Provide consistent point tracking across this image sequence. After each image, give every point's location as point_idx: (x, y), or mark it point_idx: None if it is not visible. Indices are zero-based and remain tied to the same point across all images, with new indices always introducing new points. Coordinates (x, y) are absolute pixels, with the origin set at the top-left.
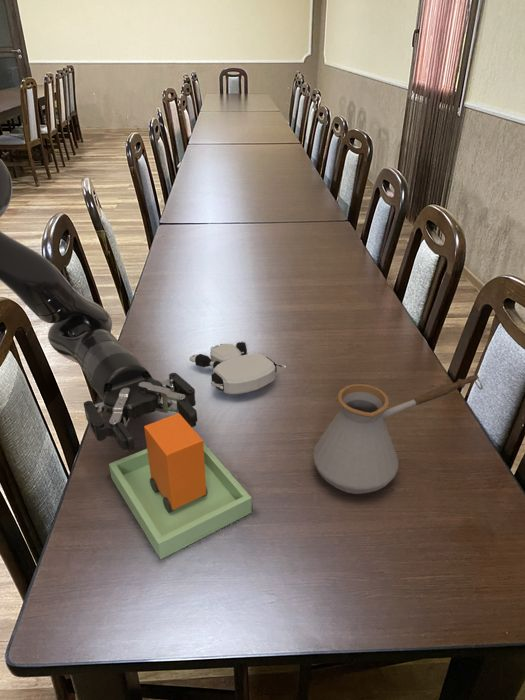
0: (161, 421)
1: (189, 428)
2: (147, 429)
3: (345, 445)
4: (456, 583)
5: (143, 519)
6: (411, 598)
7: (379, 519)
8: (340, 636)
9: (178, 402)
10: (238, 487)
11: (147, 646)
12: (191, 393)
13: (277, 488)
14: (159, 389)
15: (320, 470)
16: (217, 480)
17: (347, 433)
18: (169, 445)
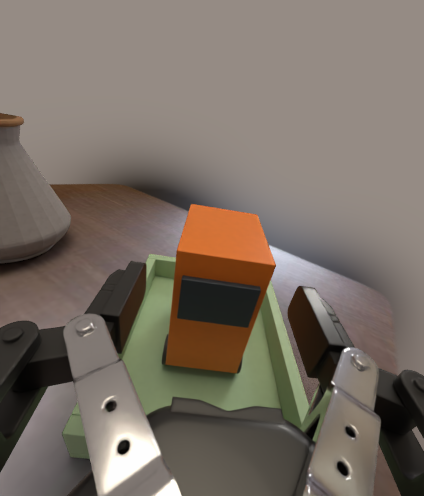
0: (231, 254)
1: (192, 220)
2: (271, 255)
3: (41, 177)
4: (106, 195)
5: (276, 299)
6: (133, 202)
7: (77, 220)
8: (183, 213)
9: (120, 312)
10: (148, 267)
11: (288, 257)
12: (33, 325)
13: (94, 276)
14: (116, 409)
15: (59, 229)
16: (140, 320)
17: (29, 163)
18: (245, 219)
